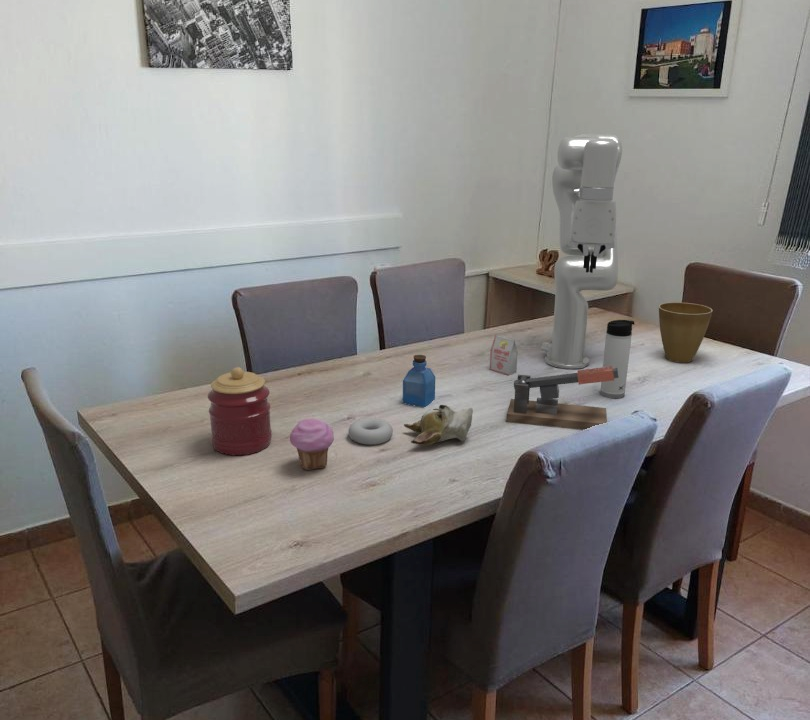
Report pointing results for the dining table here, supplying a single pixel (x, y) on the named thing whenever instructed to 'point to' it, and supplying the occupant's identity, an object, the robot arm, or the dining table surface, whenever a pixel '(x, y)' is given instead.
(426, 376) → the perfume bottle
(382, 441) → the donut
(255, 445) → the canister
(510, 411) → the nutcracker base
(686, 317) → the plant pot
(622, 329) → the travel mug
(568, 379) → the lever
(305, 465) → the cupcake
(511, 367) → the white paper bag
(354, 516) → the dining table surface
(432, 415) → the ceramic sculpture
